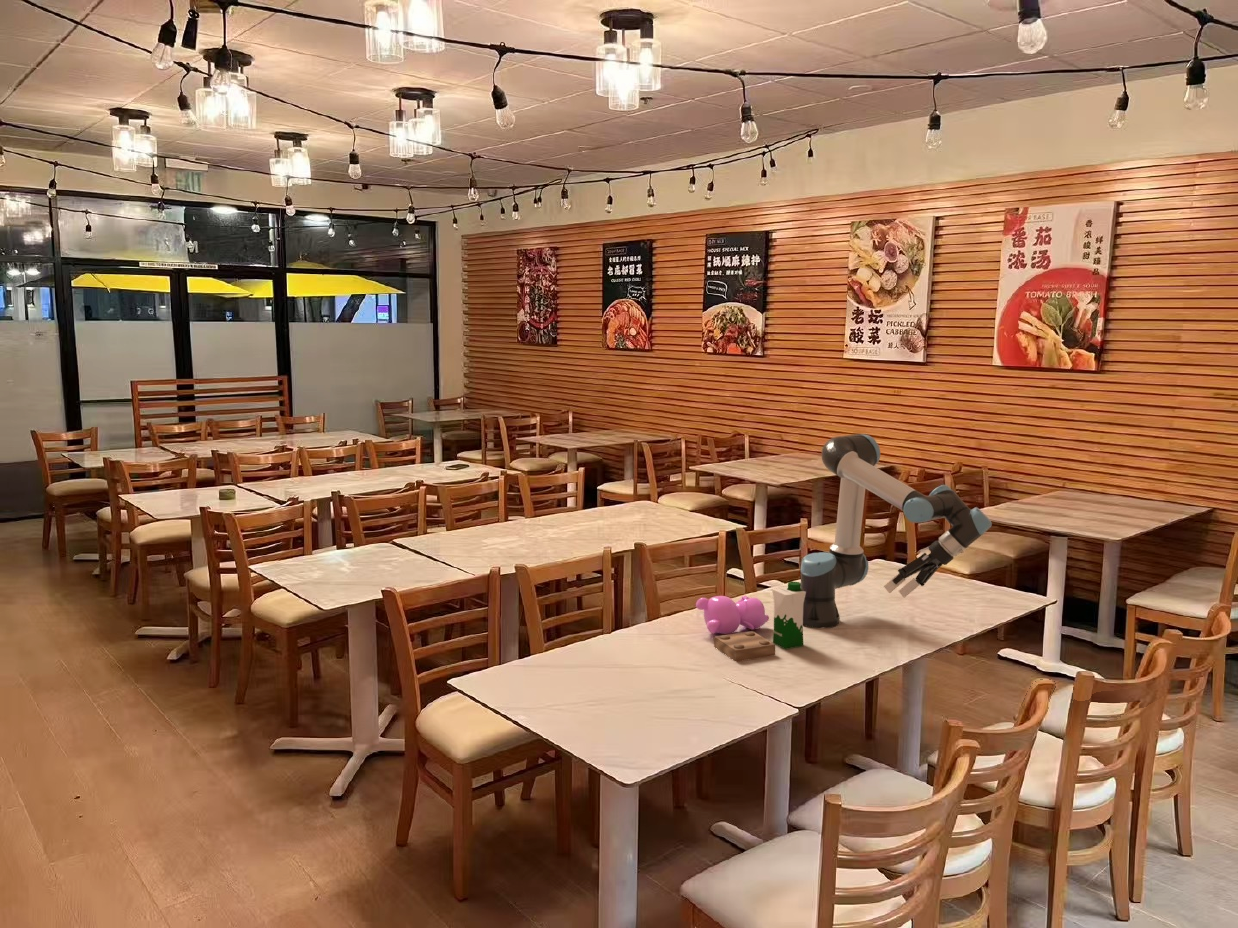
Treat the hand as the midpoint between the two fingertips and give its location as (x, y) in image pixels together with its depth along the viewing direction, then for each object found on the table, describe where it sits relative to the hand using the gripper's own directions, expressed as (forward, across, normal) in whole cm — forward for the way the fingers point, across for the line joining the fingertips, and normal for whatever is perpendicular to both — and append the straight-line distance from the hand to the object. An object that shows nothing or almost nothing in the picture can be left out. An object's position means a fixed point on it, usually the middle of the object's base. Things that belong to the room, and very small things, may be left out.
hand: (894, 592), depth 286 cm
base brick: (+44, -24, +8) cm, 51 cm away
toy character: (+49, -10, +22) cm, 55 cm away
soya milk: (+35, -12, +6) cm, 38 cm away
